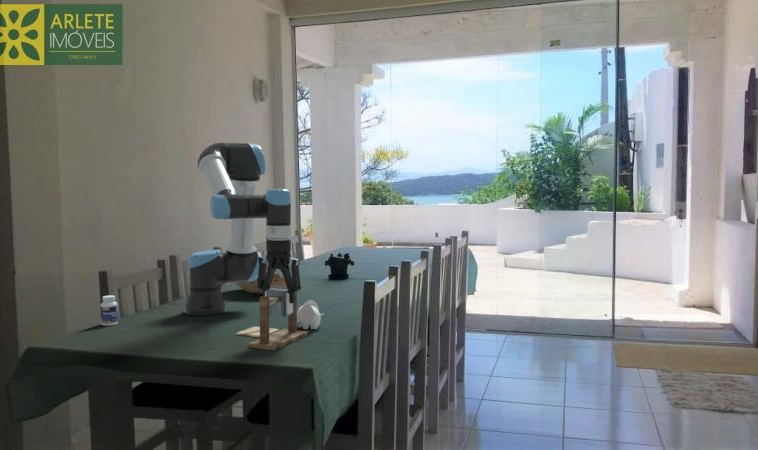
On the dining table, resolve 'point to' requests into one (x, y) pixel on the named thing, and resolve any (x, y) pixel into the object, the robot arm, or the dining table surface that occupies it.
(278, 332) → the stand
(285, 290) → the c link
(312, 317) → the elephant figurine
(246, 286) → the brown wooden chunk
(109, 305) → the pill bottle
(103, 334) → the dining table surface
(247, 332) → the cork coaster
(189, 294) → the robot arm
